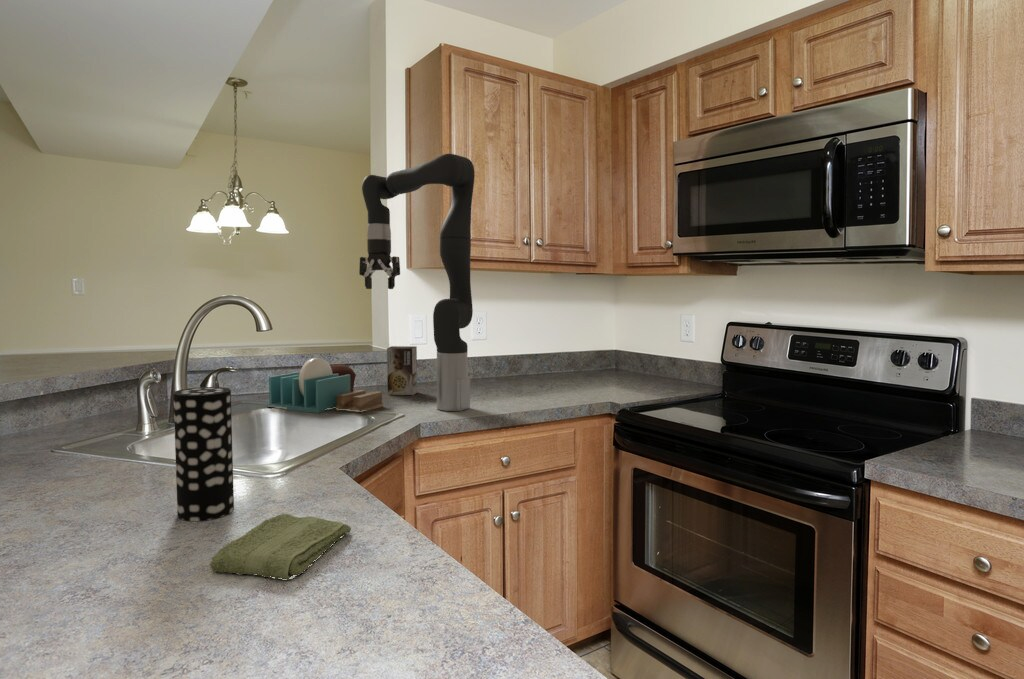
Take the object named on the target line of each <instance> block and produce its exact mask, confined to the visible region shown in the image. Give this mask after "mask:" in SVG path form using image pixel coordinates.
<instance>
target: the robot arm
mask: <svg viewBox="0 0 1024 679" xmlns="http://www.w3.org/2000/svg"><path fill="white" fill-rule="evenodd" d="M475 172H476V171H475V166H474V164H473V162H472V161H471V159H469V158H468V157H465V156H463V155H460V154H459V155H457V154H455V153H445V154H442V155H440V156H437V157H435V158H433V159H431V160H429V161H427V162H424V163H422V164H419V165H417V166H414V167H413V166H412V167H410V168H406V169H401V170H396V171H393V172H392V173H389V174H388V175H387V176H380V175H375V174H368V175H367V176H365V177H364V179H363V181H362V183H361V191H362V196H363V200H364V203H365V207H366V210H367V232H366V233H367V234H366V237H367V239H366V241H367V242H366V243H367V244H366V245H367V247H366V248H367V250H366V251H367V253H368V256H367V257H366V256H361V257H359V270H358V271H359V276H362V277H363V278H364V287H365V288H366V290H372V286H373V281H372V277H373V274H374V273H376V271H384V272H385V273H386V275H387V276H388V277H387V289H388V290H394V288H395V285H396V282H395V281H396V279H395V278H396V277H397V276H400V275H401V265H400V264H401V262H400V257H399V256H391V253H392V232H391V211H390V208H389V207H387V206H386V205H384V204H383V203H382V200H390V199H393V198H395V197H397V196H399V195H403V194H409V193H412V192H416V191H418V190H420V189H421V188H422V187H423V186H426V185H444V186H447V187H451V203H450V207H449V211H448V213H447V215H446V217H445V220H444V221H443V223H442V225H441V229H440V230H439V231H440V233H439V253H440V254H439V255H440V259H441V262H442V264H443V267H444V269H445V272H446V274H447V275H446V276H447V278H448V282H449V283H448V284H449V298H444V299H443V298H442V299H440V300H439V301H438V302H437V303H436V304H435V306H434V310H433V313H432V319H433V320H432V321H433V323H432V324H433V326H432V327H433V340H434V343H435V346H436V409H437V410H439V411H446V412H447V411H448V412H452V411H454V412H462V411H465V410H467V409H469V408H470V407H471V377H470V376H468V347H469V346H468V343H467V342H466V341H464V340H463V339H462V337H461V331H460V330H461V329H465V328H466V327H468V326H469V325H470V324H471V322H472V318H473V314H474V312H473V311H474V309H473V299H472V298H473V297H472V289H471V288H472V287H471V254H472V253H471V250H472V248H471V247H472V234H471V233H472V232H471V230H472V228H471V227H472V203H473V194H474V184H475V176H476V175H475ZM391 264H392V266H391Z"/></svg>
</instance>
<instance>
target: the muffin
mask: <svg viewBox="0 0 1024 679" xmlns="http://www.w3.org/2000/svg"><path fill="white" fill-rule="evenodd" d="M330 366H331V369H332V374H339V376H343V375H350V392H352V391H354V388H355V387H354V386H355V379H356V377H357V374H356V373H355V371H354V370H353V369H352V368H351V367H350V366H349V365H346V364H333V365H330Z"/></svg>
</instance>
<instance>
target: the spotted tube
mask: <svg viewBox="0 0 1024 679" xmlns="http://www.w3.org/2000/svg"><path fill="white" fill-rule="evenodd" d="M172 395H173V420H174V424H173V425H174V446H175V447H174V448H175V449H174V450H175V451H174V452H175V455H174V456H175V473H176V474H175V479H176V507H177V508H176V510H177V513H176V514H177V518H178V519H180V520H181V521H186V522H187V521H188V522H203V521H211V520H216V519H220V518H222V517H226V516H227V515H229V514H231V513H232V512H234V510H235V502H234V500H235V498H234V496H235V495H234V465H233V464H234V461H233V424H232V420H233V418H232V389H231V388H229V387H222V386H203V387H201V386H200V387H192V388H191V387H190V388H183V389H179V390H176V391H173V394H172Z"/></svg>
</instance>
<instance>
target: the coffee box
mask: <svg viewBox="0 0 1024 679" xmlns="http://www.w3.org/2000/svg"><path fill="white" fill-rule="evenodd" d="M417 353H418V351H417V346H408V345H407V346H406V345H405V346H404V345H402V346H401V345H398V346H397V345H395V346H394V345H392V346H389V347H387V348H386V367H387V369H386V371H387V378H386V379H387V384H386V385H387V396H388V395H392V396H396V395H398V396H401V395H402V396H414V395H415V394H416V393H418V364H417V362H418V360H417V358H418V357H417Z"/></svg>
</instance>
